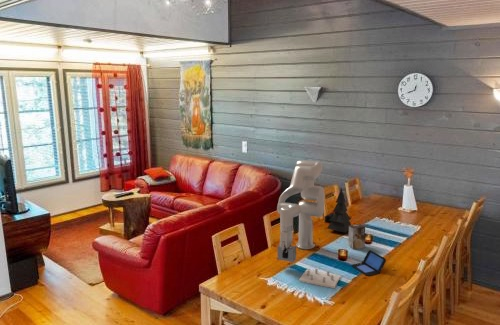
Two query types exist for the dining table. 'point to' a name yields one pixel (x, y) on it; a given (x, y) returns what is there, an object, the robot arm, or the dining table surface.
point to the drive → (291, 253)
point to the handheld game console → (370, 264)
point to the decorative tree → (340, 215)
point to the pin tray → (320, 278)
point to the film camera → (328, 218)
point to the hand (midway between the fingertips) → (286, 255)
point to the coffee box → (356, 236)
